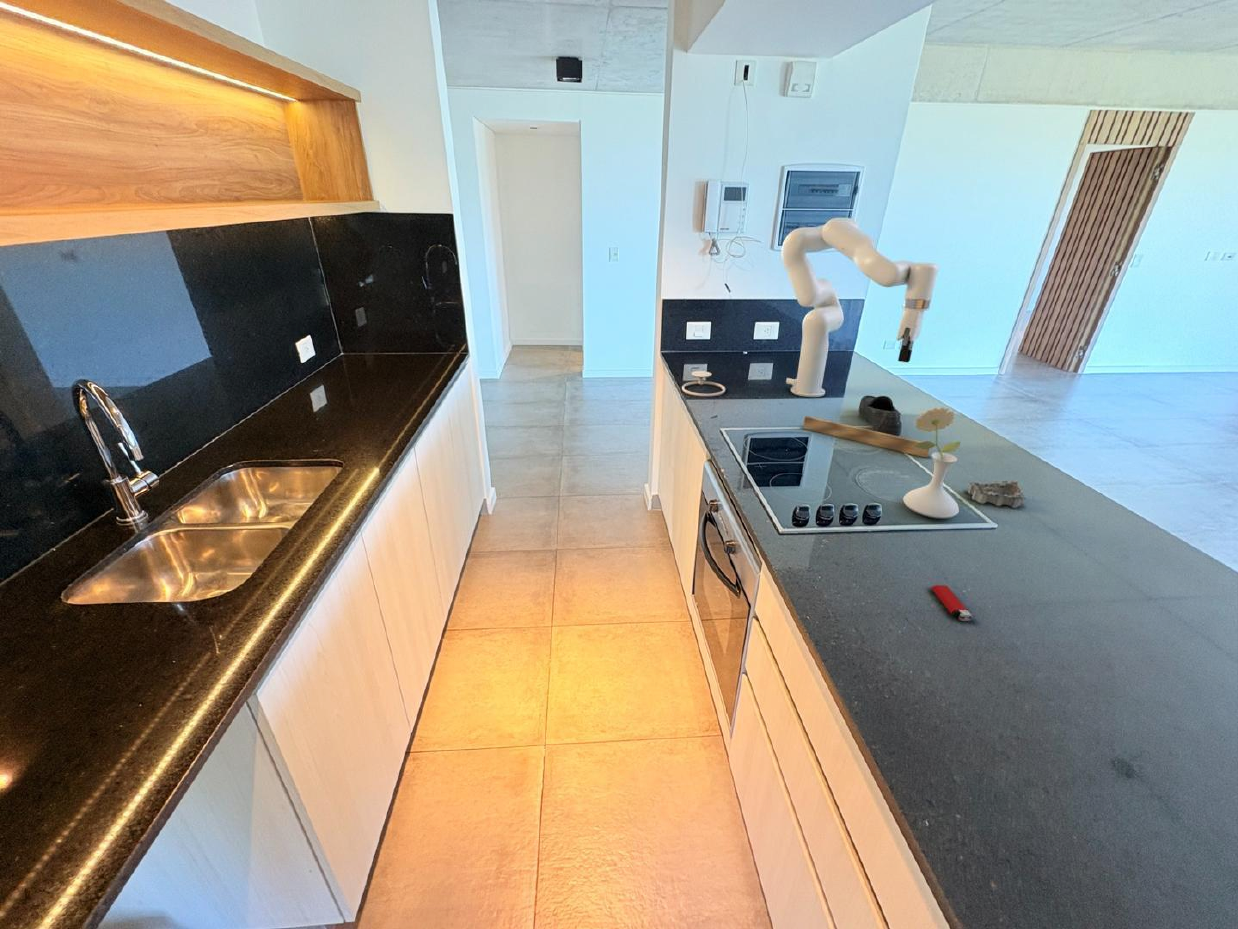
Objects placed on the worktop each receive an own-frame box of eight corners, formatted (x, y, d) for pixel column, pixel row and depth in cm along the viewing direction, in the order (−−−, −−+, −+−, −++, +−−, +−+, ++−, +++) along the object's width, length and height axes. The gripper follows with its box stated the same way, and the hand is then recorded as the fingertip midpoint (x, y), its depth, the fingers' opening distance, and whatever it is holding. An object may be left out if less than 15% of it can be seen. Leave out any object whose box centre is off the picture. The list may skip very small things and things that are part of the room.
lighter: (948, 585, 96) (973, 615, 89) (947, 590, 97) (971, 621, 90) (933, 585, 97) (956, 615, 89) (931, 590, 97) (954, 620, 90)
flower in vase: (954, 504, 126) (985, 404, 115) (959, 527, 116) (994, 421, 106) (893, 493, 131) (918, 396, 120) (894, 515, 121) (920, 412, 111)
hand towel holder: (684, 386, 197) (679, 371, 215) (683, 397, 199) (678, 381, 217) (729, 385, 197) (720, 370, 215) (728, 397, 199) (720, 381, 217)
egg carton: (1014, 496, 130) (1020, 481, 128) (1024, 510, 123) (1030, 495, 122) (965, 488, 133) (970, 474, 131) (972, 502, 127) (977, 487, 125)
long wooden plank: (803, 428, 170) (804, 416, 168) (804, 427, 171) (806, 415, 169) (926, 457, 150) (930, 444, 148) (927, 456, 151) (931, 443, 149)
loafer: (879, 410, 186) (885, 382, 181) (912, 442, 159) (920, 410, 155) (848, 409, 186) (854, 381, 182) (876, 441, 160) (884, 409, 156)
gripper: (909, 300, 175) (897, 355, 183) (897, 306, 164) (885, 364, 172) (934, 302, 171) (921, 358, 178) (924, 308, 160) (910, 367, 168)
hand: (903, 361), depth 175 cm, fingers closed
